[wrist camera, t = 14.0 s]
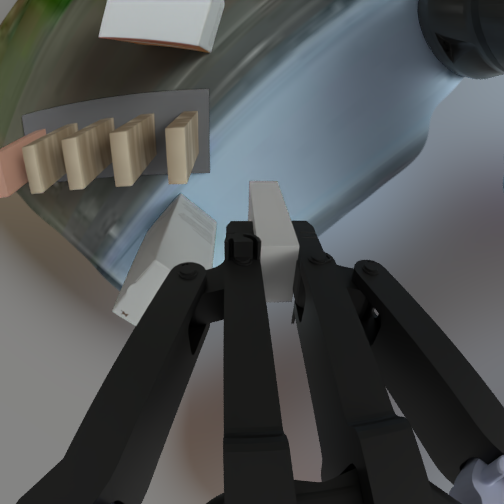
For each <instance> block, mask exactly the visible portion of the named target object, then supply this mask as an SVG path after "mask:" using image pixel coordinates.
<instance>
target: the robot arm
mask: <svg viewBox="0 0 504 504" xmlns="http://www.w3.org/2000/svg"><path fill="white" fill-rule="evenodd" d="M418 15H419V21H420V26H421V29H422V32H423V35H424V37H425V39H426V41H427V43H428V45H429V47H430V49H431V50H432V52H433V53H434V55H435V56H436V57H437V58H438V60H439V61H440V62H441V63H442V64H443V65H444V66H445V67H447V68H448V69H449V70H451V71H452V72H454V73H456V74H458V75H460V76H463V77H468V78H473V79H487V78H491V77H495V76H499V75H503V74H504V0H419V3H418ZM503 191H504V177H503ZM224 243H225V260H224V262H223V263H222V264H221V265H219V266H217V267H215V268H212V269H208V270H205V268H204V267H203V266H202V265H201V264H198V263H195V262H185V263H180V264H178V265H176V266H174V267H173V268H172V269H171V271H170V272H169V274H168V275H167V277H166V279H165V280H164V282H163V283H162V285H161V286H160V288H159V290H158V291H157V293H156V294H155V296H154V298H153V299H152V301H151V302H150V304H149V306H148V307H147V309H146V311H145V312H144V314H143V315H142V317H141V319H140V320H139V322H138V324H137V325H136V327H135V329H134V330H133V332H132V334H131V335H130V337H129V339H128V341H127V342H126V344H125V346H124V347H123V349H122V351H121V353H120V354H119V356H118V358H117V359H116V361H115V363H114V365H113V366H112V368H111V370H110V372H109V374H108V375H107V377H106V379H105V381H104V382H103V384H102V386H101V388H100V390H99V392H98V393H97V395H96V397H95V399H94V400H93V402H92V404H91V406H90V408H89V410H88V412H87V414H86V415H85V417H84V419H83V421H82V423H81V425H80V427H79V429H78V431H77V433H76V435H75V436H74V438H73V440H72V442H71V444H70V446H69V449H68V450H67V452H66V455H65V456H64V458H63V459H62V460H61V461H60V462H59V463H58V464H57V465H56V466H55V467H54V468H53V469H52V470H51V471H49V472H48V473H47V474H46V475H45V476H44V477H43V478H42V479H41V480H40V481H39V482H38V483H37V484H35V485H34V486H33V487H32V488H31V489H30V490H29V491H28V492H27V493H26V494H24V496H22V497H21V498H20V499H19V500H18V502H17V503H16V504H141V503H142V501H143V499H144V496H145V494H146V492H147V490H148V487H149V485H150V482H151V479H152V477H153V474H154V471H155V468H156V466H157V463H158V460H159V458H160V455H161V452H162V450H163V447H164V444H165V442H166V439H167V436H168V434H169V431H170V428H171V426H172V423H173V421H174V418H175V415H176V413H177V410H178V407H179V405H180V402H181V400H182V397H183V394H184V392H185V389H186V386H187V384H188V381H189V378H190V376H191V374H192V371H193V368H194V366H195V363H196V361H197V358H198V355H199V353H200V350H201V348H202V345H203V343H204V340H205V337H206V335H207V332H208V330H209V327H210V323H211V322H215V321H219V320H223V319H224V438H223V463H224V493H222V494H220V495H218V496H216V497H215V498H213V499H212V500H210V501H209V502H208V503H206V504H504V407H503V406H502V405H501V403H500V402H499V401H498V399H497V398H496V397H495V395H494V394H493V393H492V391H491V390H490V389H489V387H488V386H487V385H486V383H485V382H484V381H483V380H482V378H481V377H480V376H479V374H478V373H477V372H476V371H475V370H474V368H473V367H472V366H471V364H470V363H469V362H468V361H467V360H466V358H465V357H464V356H463V355H462V353H461V352H460V351H459V350H458V349H457V347H456V346H455V345H454V344H453V343H452V342H451V340H450V339H449V338H448V337H447V336H446V334H445V333H444V332H443V331H442V330H441V329H440V327H439V326H438V325H437V324H436V323H435V322H434V321H433V319H432V318H431V317H430V316H429V315H428V314H427V313H426V312H425V311H424V309H423V308H422V307H421V306H420V305H419V304H418V303H417V302H416V301H415V300H414V298H413V297H412V296H411V295H410V294H409V293H408V292H407V291H406V290H405V289H404V288H403V287H402V286H401V284H400V283H399V282H398V281H397V280H396V279H395V278H394V277H393V276H392V275H391V274H390V273H389V272H388V271H387V270H386V269H385V268H384V267H383V266H382V265H381V264H379V263H377V262H375V261H371V260H361V261H358V262H357V263H356V264H355V266H354V269H353V268H348V267H343V266H339V265H337V264H336V263H335V260H334V259H333V257H332V256H330V255H329V254H327V253H325V252H324V251H323V249H322V246H321V244H320V242H319V239H318V238H317V235H316V233H315V230H314V228H313V226H312V225H311V224H309V223H308V222H307V221H291V219H290V216H289V213H288V210H287V207H286V204H285V202H284V199H283V196H282V193H281V190H280V187H279V185H278V182H277V181H249V212H248V221H231V222H230V223H229V224H228V225H227V227H226V239H225V242H224ZM293 293H294V298H295V303H294V309H293V315H292V323H294V321H295V319H296V323H297V328H298V334H299V338H300V343H301V348H302V353H303V358H304V363H305V368H306V373H307V378H308V383H309V388H310V393H311V399H312V404H313V409H314V414H315V420H316V425H317V431H318V436H319V442H320V447H321V453H322V469H321V479H322V482H309V481H299V480H294V479H293V471H292V464H291V456H290V448H289V443H288V439H287V436H286V435H285V434H284V432H283V427H282V419H281V412H280V404H279V397H278V389H277V381H276V373H275V365H274V358H273V350H272V343H271V335H270V328H269V320H268V313H267V306H266V302H292V297H293ZM374 309H376V310H377V312H378V313H379V315H378V316H377V315H376V314H375V312H374ZM386 388H387V390H388V391H389V393H390V394H391V396H392V397H393V399H394V400H395V402H396V403H397V405H398V407H399V408H400V410H401V411H402V413H403V414H404V416H405V417H399V416H397V415H396V414H395V412H394V410H393V407H392V405H391V402H390V399H389V396H388V393H387V390H386ZM412 429H413V430H414V432H415V433H416V435H417V437H418V438H419V440H420V441H421V443H422V445H423V446H424V448H425V449H426V451H427V453H428V454H429V456H430V458H431V459H432V461H433V462H434V463H435V465H436V466H437V468H438V469H439V470H440V472H441V473H442V474H443V475H444V476H445V477H446V478H447V479H448V480H449V481H450V482H451V483H452V484H453V485H454V487H452V488H451V490H450V492H449V495H448V494H447V493H445V492H444V491H442V490H441V489H440V488H438V487H437V486H435V485H434V484H433V483H431V482H430V481H428V477H427V474H426V470H425V467H424V464H423V461H422V457H421V454H420V451H419V448H418V445H417V442H416V439H415V436H414V433H413V430H412Z"/></svg>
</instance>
